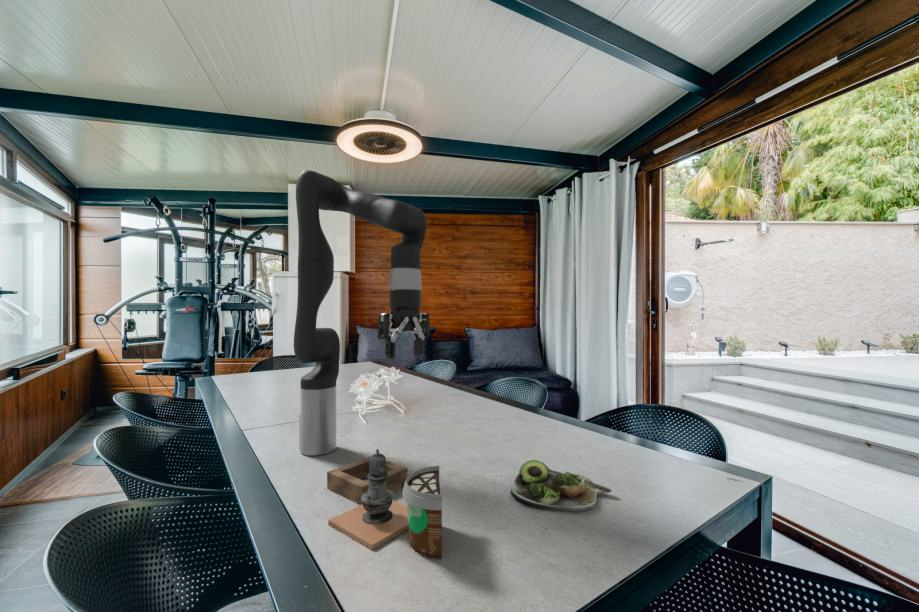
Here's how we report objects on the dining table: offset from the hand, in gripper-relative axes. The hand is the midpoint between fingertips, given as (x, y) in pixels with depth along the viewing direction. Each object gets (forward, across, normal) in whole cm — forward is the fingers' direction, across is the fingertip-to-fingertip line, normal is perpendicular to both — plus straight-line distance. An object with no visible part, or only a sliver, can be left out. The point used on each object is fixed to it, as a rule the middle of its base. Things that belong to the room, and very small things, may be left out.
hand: (404, 356), depth 93 cm
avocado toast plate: (+27, -12, +32) cm, 43 cm away
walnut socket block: (+27, +11, +1) cm, 29 cm away
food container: (+27, +18, +24) cm, 40 cm away
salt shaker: (+26, +18, +14) cm, 35 cm away
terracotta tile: (+27, +18, +14) cm, 35 cm away
